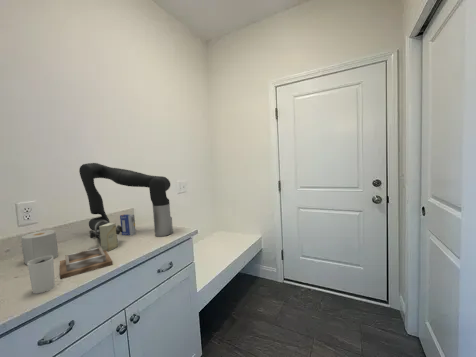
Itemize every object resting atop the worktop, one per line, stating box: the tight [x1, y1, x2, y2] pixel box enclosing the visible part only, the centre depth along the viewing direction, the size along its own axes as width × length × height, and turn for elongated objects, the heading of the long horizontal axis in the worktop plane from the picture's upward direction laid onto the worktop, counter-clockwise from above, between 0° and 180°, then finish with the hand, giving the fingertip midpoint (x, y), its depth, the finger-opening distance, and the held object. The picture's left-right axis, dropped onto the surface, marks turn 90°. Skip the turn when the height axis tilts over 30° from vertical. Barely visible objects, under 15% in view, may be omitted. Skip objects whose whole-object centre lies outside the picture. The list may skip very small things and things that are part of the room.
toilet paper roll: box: [21, 229, 59, 265], centre depth 105 cm, size 12×12×12 cm
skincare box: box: [99, 222, 119, 252], centre depth 113 cm, size 6×4×12 cm
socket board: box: [59, 246, 114, 280], centre depth 96 cm, size 17×17×4 cm
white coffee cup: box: [26, 256, 56, 294], centre depth 78 cm, size 7×7×10 cm
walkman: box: [119, 214, 137, 236], centre depth 136 cm, size 8×3×12 cm, turn 74°
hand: (108, 234), depth 113 cm, fingers open, 8 cm apart
